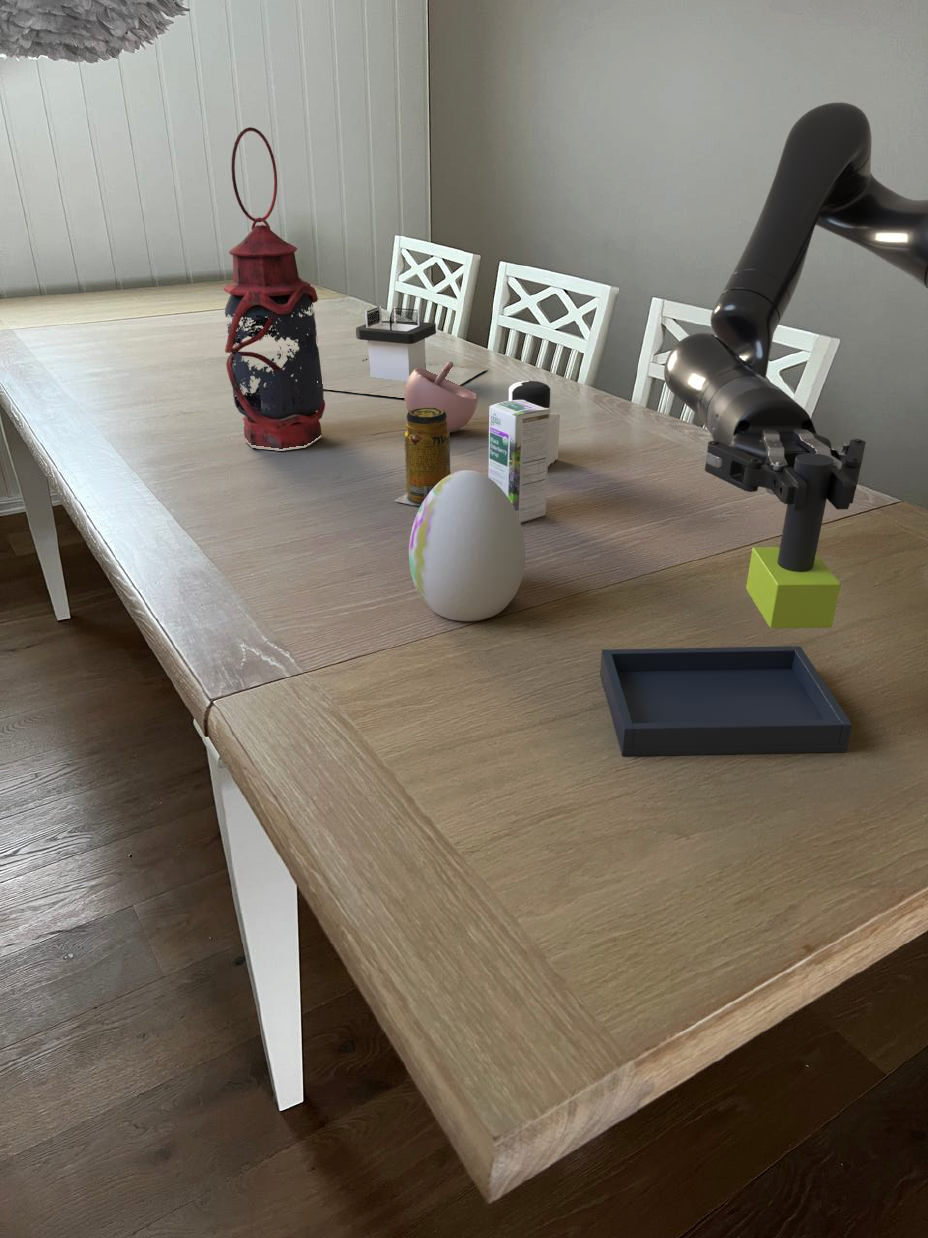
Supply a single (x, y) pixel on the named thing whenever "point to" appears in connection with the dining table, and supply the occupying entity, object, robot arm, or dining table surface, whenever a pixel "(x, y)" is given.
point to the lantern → (273, 335)
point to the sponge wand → (797, 560)
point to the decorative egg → (467, 548)
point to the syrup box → (520, 454)
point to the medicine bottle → (541, 397)
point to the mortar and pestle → (440, 396)
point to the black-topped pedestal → (395, 343)
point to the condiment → (425, 453)
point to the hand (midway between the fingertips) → (823, 497)
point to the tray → (720, 702)
